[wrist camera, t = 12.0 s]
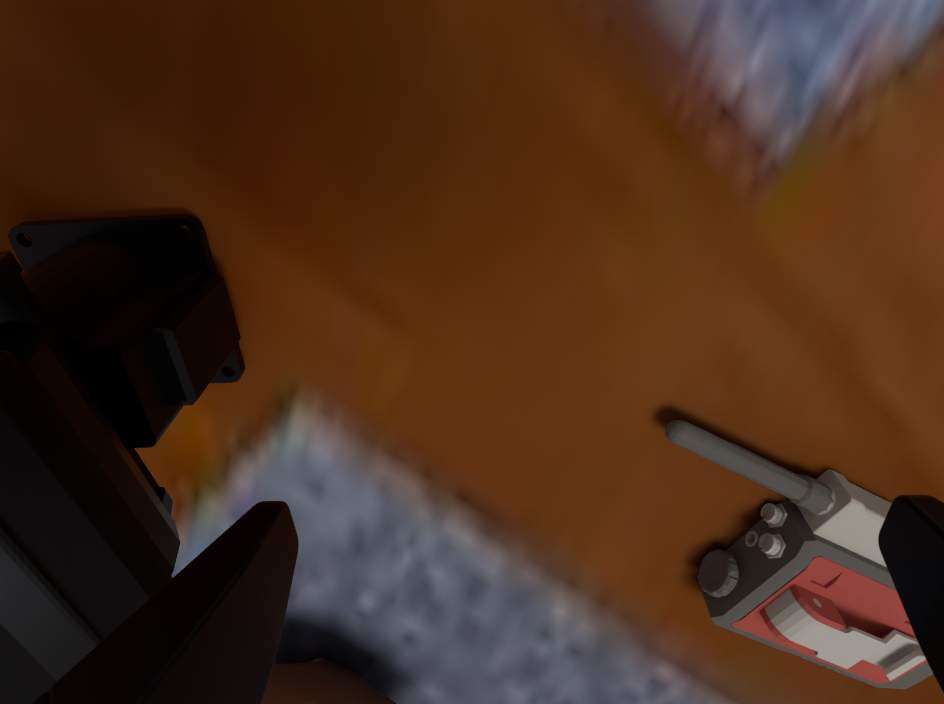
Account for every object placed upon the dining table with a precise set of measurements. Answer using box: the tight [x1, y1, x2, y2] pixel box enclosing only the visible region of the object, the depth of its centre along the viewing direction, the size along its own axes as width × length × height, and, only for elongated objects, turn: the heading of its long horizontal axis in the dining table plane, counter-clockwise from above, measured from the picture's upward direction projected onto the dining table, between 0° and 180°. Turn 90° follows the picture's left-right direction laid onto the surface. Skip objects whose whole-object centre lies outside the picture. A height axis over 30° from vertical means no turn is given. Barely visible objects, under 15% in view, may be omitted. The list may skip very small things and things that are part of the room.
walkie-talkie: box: [665, 420, 933, 689], centre depth 26 cm, size 9×4×20 cm
